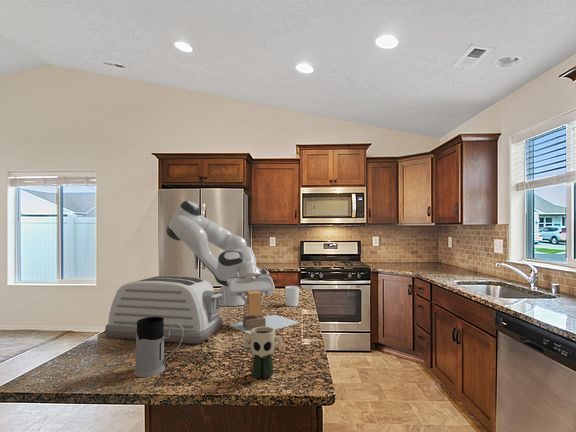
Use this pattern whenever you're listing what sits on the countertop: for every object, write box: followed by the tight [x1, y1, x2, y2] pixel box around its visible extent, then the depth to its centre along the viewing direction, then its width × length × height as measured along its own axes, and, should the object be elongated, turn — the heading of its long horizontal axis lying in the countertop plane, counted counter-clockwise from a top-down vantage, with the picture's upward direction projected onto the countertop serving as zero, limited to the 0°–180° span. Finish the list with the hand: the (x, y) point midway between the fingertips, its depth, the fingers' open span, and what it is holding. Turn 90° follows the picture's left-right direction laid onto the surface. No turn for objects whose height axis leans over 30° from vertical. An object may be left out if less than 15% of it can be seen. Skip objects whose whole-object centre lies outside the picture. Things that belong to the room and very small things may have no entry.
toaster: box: [104, 275, 223, 345], centre depth 133 cm, size 23×45×22 cm, turn 78°
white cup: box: [284, 285, 300, 307], centre depth 181 cm, size 8×8×10 cm
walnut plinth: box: [242, 313, 266, 330], centre depth 137 cm, size 8×8×4 cm
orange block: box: [246, 291, 262, 315], centre depth 138 cm, size 5×5×9 cm
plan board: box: [228, 314, 301, 336], centre depth 141 cm, size 18×26×1 cm
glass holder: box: [133, 317, 184, 378], centre depth 98 cm, size 9×14×15 cm, turn 94°
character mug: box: [243, 327, 282, 379], centre depth 94 cm, size 11×7×13 cm, turn 91°
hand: (254, 302), depth 137 cm, fingers closed on orange block, 5 cm apart
